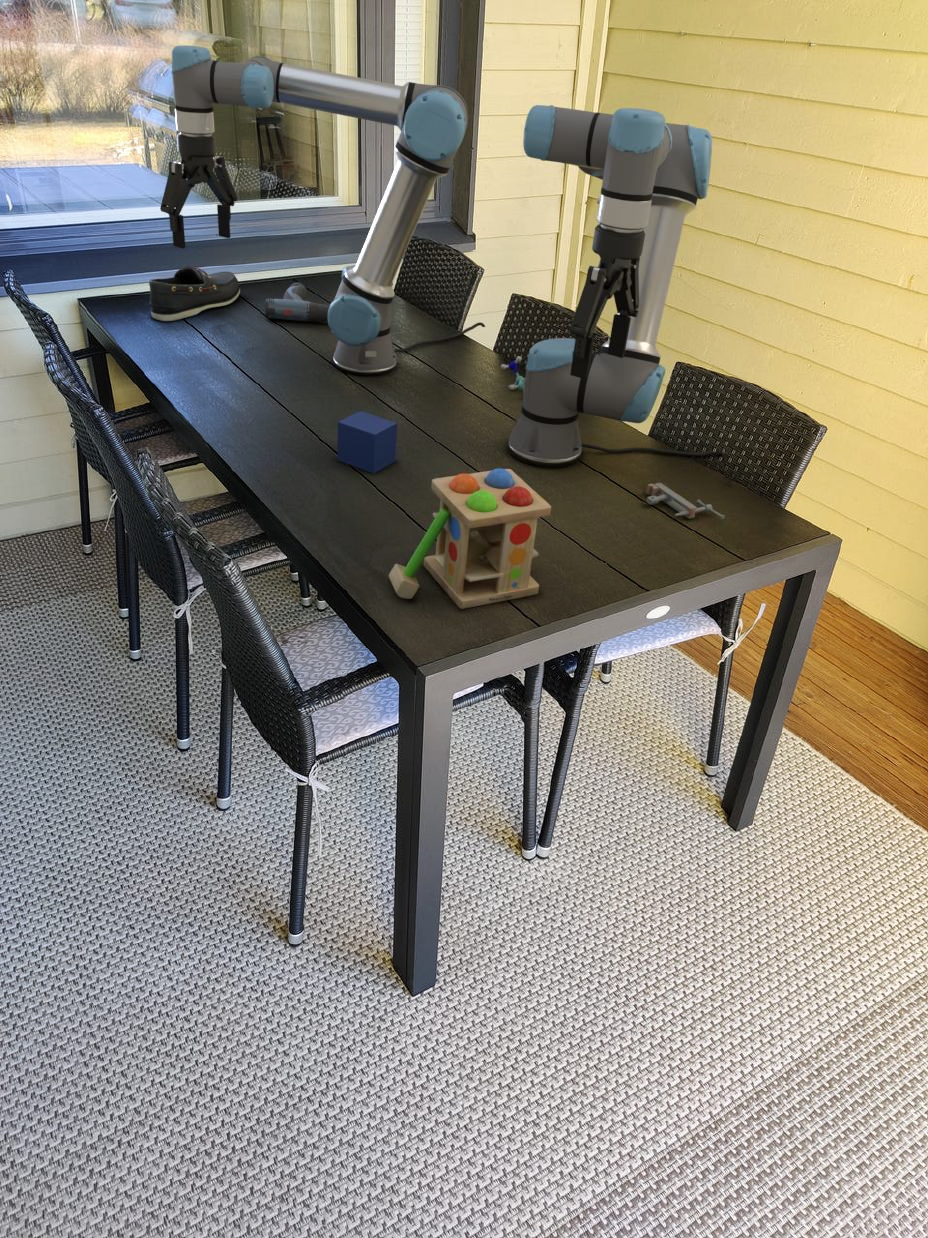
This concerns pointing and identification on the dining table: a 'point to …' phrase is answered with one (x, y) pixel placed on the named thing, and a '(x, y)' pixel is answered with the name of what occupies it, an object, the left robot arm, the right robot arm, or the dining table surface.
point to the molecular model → (519, 378)
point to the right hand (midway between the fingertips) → (597, 365)
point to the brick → (367, 441)
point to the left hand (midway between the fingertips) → (202, 241)
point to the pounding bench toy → (479, 539)
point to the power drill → (295, 306)
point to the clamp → (657, 495)
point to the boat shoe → (191, 293)
